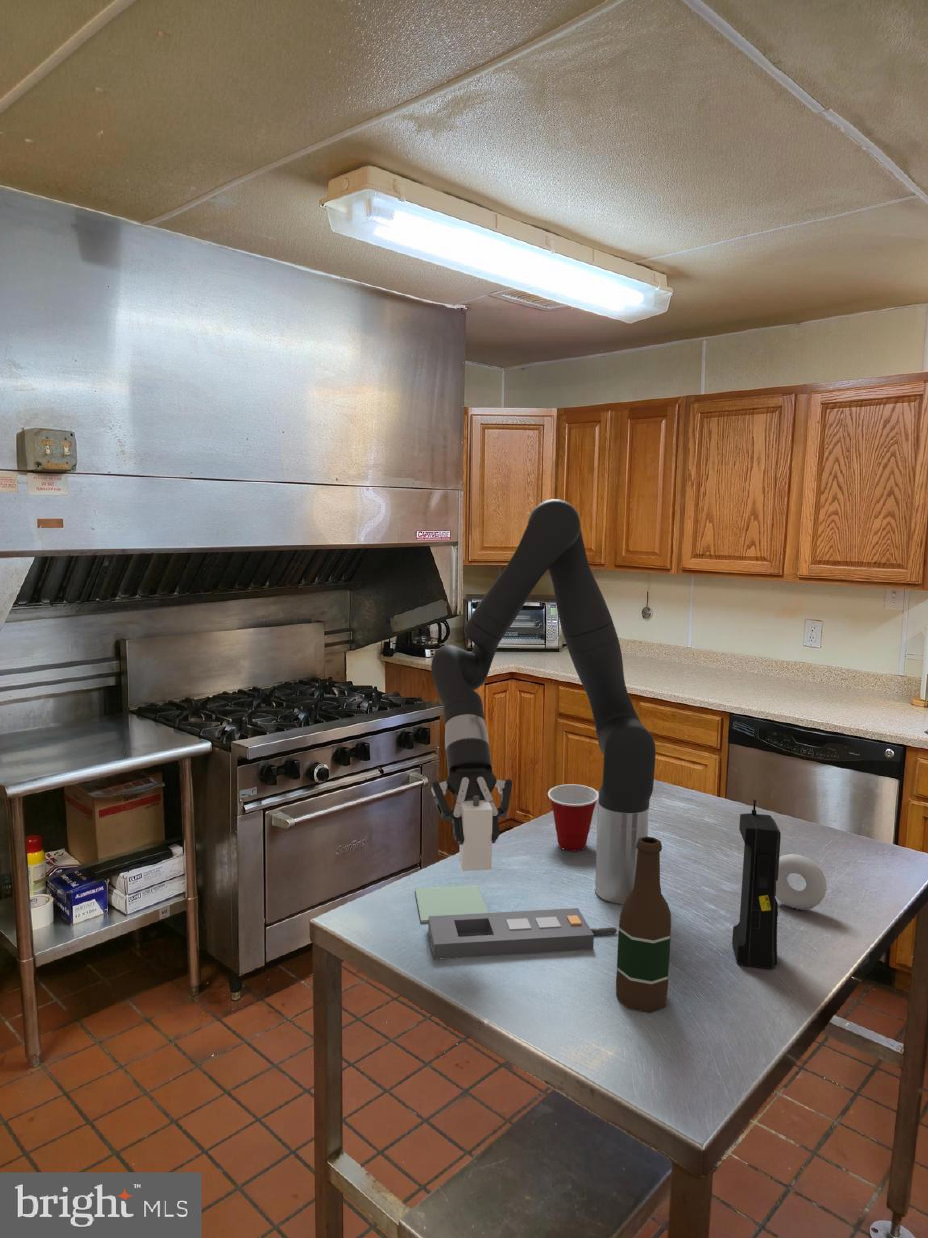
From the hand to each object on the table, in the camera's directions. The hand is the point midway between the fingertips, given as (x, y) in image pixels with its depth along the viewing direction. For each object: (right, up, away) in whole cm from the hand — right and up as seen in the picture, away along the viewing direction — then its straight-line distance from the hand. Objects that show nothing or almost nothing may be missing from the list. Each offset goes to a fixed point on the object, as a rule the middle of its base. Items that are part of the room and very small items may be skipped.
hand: (477, 841), depth 125 cm
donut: (+58, -17, +18) cm, 63 cm away
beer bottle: (+24, -20, -10) cm, 33 cm away
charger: (0, -4, +2) cm, 5 cm away
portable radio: (+44, -19, +1) cm, 48 cm away
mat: (-5, -16, +16) cm, 23 cm away
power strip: (+8, -18, +5) cm, 20 cm away
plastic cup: (+21, -13, +43) cm, 50 cm away
